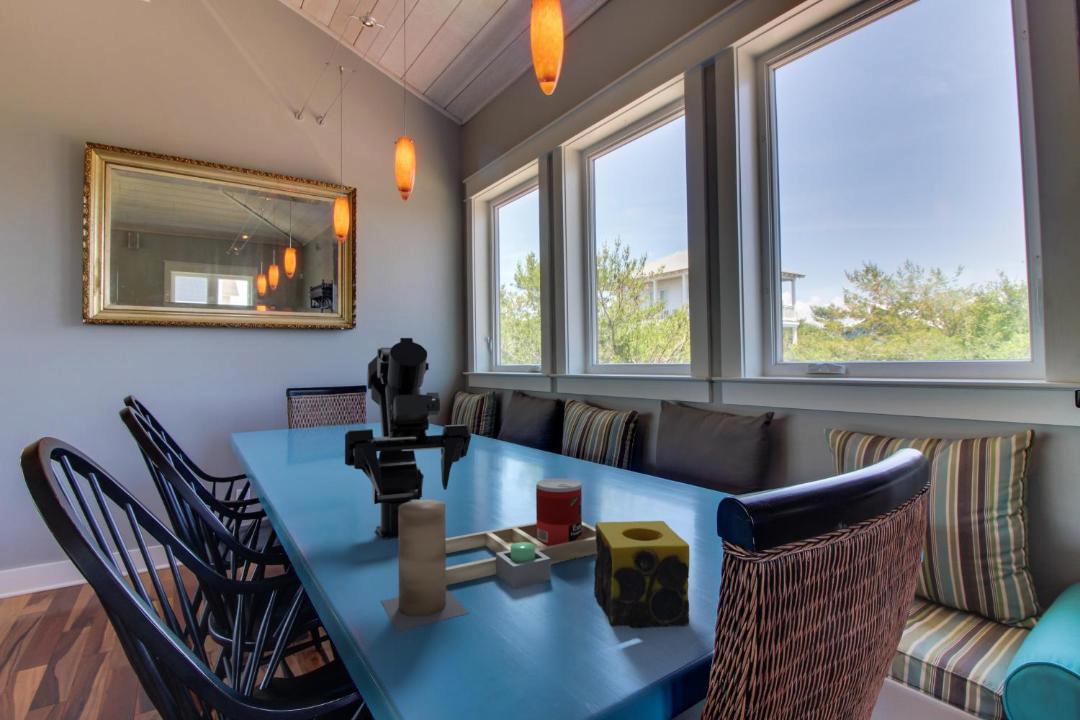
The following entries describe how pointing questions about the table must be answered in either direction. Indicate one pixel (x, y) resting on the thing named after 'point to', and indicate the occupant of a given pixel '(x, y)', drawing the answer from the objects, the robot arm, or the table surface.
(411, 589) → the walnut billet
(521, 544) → the button
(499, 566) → the grey square box
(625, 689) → the table surface
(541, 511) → the canned food
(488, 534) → the birch frame
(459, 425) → the robot arm
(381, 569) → the table surface
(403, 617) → the rubber mat
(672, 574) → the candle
